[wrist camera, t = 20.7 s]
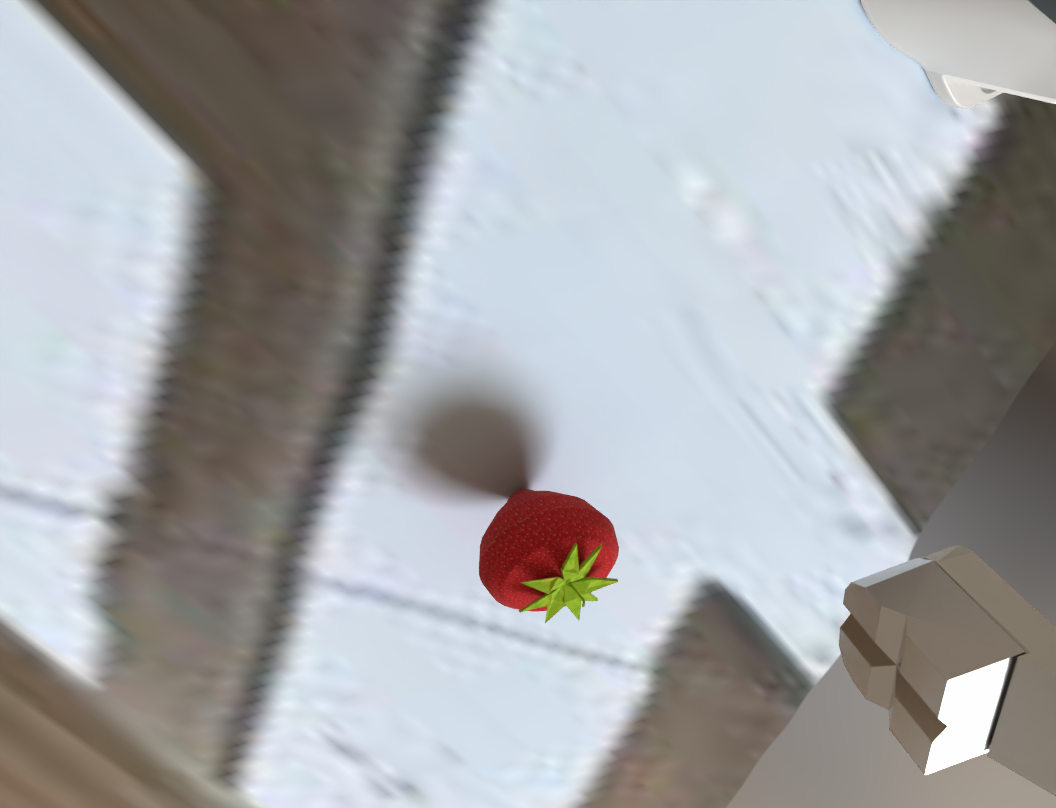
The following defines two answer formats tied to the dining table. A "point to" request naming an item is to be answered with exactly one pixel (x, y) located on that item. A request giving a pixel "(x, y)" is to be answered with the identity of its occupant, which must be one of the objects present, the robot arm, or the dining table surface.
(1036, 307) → the dining table surface
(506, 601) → the strawberry
